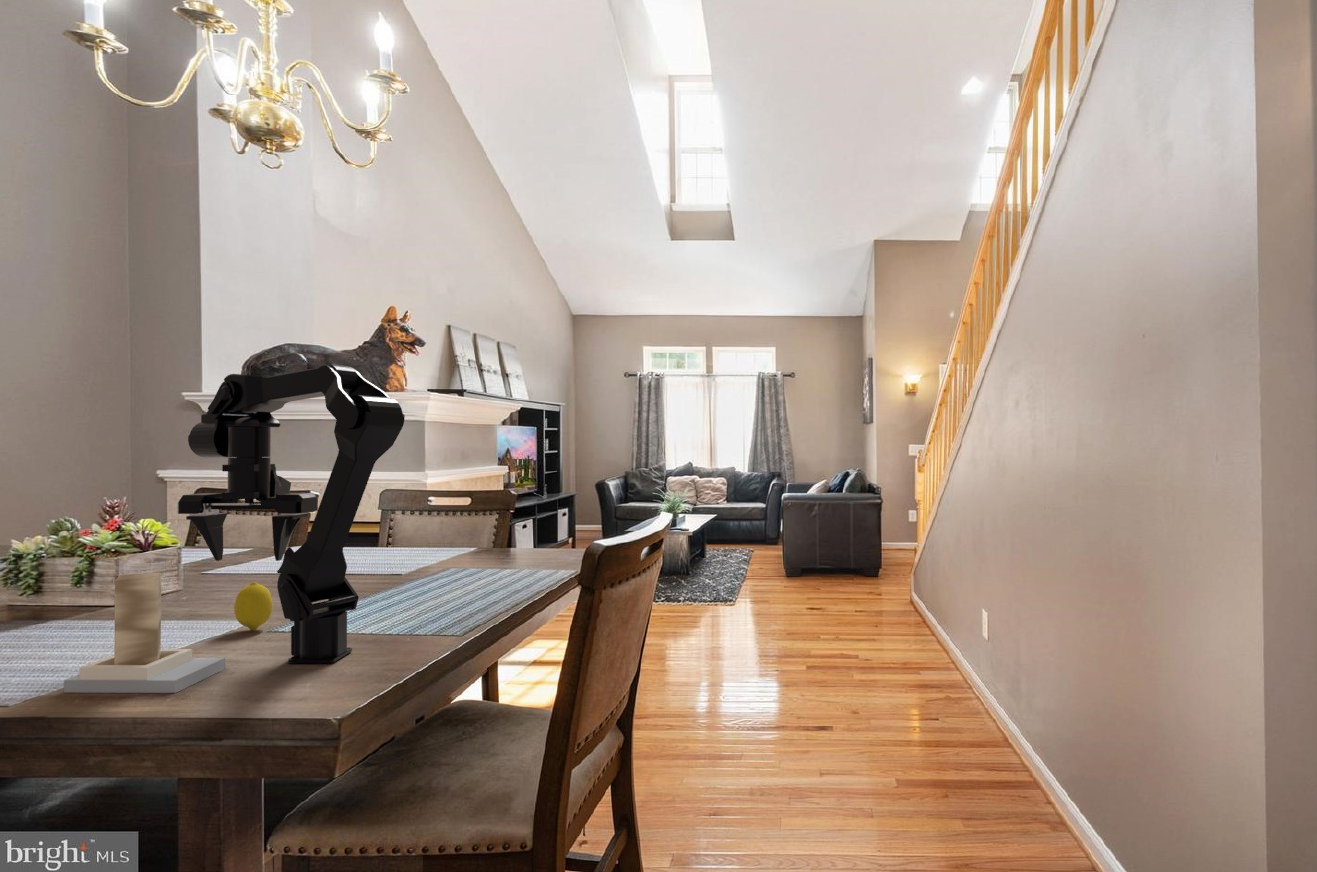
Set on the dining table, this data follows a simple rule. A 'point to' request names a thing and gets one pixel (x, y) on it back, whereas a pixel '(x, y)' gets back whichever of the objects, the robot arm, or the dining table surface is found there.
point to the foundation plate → (145, 674)
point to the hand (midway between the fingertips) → (248, 560)
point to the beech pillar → (137, 619)
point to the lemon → (253, 606)
